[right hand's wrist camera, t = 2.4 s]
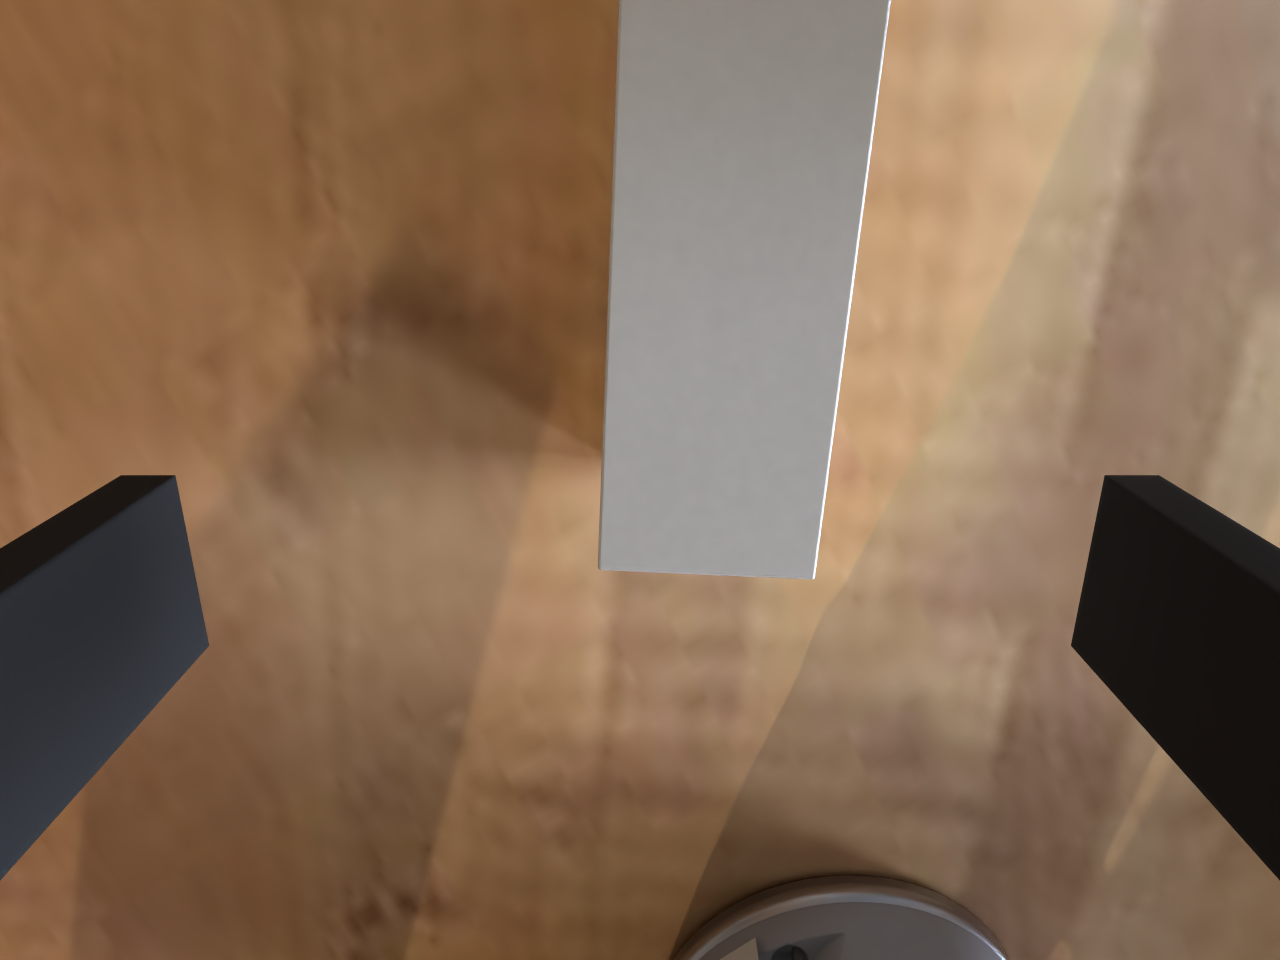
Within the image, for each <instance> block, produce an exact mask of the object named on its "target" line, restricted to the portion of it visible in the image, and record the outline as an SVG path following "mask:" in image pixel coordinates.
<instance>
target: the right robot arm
mask: <svg viewBox="0 0 1280 960" xmlns="http://www.w3.org/2000/svg"><path fill="white" fill-rule="evenodd" d="M208 646H209V643H208V638H207V633H206V628H205V623H204V618H203V613H202V608H201V603H200V598H199V593H198V588H197V583H196V578H195V573H194V567H193V562H192V557H191V552H190V547H189V542H188V537H187V532H186V527H185V522H184V517H183V512H182V507H181V502H180V497H179V492H178V487H177V482H176V477H175V475H121V476H119V477H118V478H116V479H114V480H113V481H111V482H109V483H108V484H106V485H104V486H103V487H101V488H99V489H98V490H96V491H94V492H93V493H91V494H90V495H88V496H86V497H85V498H83V499H81V500H80V501H78V502H76V503H75V504H73V505H71V506H70V507H68V508H66V509H65V510H63V511H61V512H60V513H58V514H57V515H55V516H53V517H52V518H50V519H48V520H47V521H45V522H43V523H42V524H40V525H38V526H37V527H35V528H33V529H32V530H30V531H28V532H27V533H25V534H24V535H22V536H20V537H19V538H17V539H15V540H14V541H12V542H10V543H9V544H7V545H5V546H4V547H2V548H0V880H1V879H2V878H3V877H4V876H5V874H6V873H7V872H8V871H9V870H10V869H11V868H12V867H13V865H14V864H15V863H16V862H17V861H18V860H19V859H20V858H21V856H22V855H23V854H24V853H25V852H26V851H27V850H28V849H29V847H30V846H31V845H32V844H33V843H34V842H35V841H36V840H37V838H38V837H39V836H40V835H41V834H42V833H43V832H44V831H45V829H46V828H47V827H48V826H49V825H50V824H51V823H52V822H53V820H54V819H55V818H56V817H57V816H58V815H59V814H60V813H61V811H62V810H63V809H64V808H65V807H66V806H67V805H68V804H69V802H70V801H71V800H72V799H73V798H74V797H75V796H76V795H77V793H78V792H79V791H80V790H81V789H82V788H83V787H84V786H85V784H86V783H87V782H88V781H89V780H90V779H91V778H92V777H93V775H94V774H95V773H96V772H97V771H98V770H99V769H100V768H101V766H102V765H103V764H104V763H105V762H106V761H107V760H108V759H109V757H110V756H111V755H112V754H113V753H114V752H115V751H116V750H117V748H118V747H119V746H120V745H121V744H122V743H123V742H124V741H125V739H126V738H127V737H128V736H129V735H130V734H131V733H132V732H133V730H134V729H135V728H136V727H137V726H138V725H139V724H140V723H141V722H142V720H143V719H144V718H145V717H146V716H147V715H148V714H149V713H150V711H151V710H152V709H153V708H154V707H155V706H156V705H157V704H158V702H159V701H160V700H161V699H162V698H163V697H164V696H165V695H166V693H167V692H168V691H169V690H170V689H171V688H172V687H173V686H174V684H175V683H176V682H177V681H178V680H179V679H180V678H181V677H182V675H183V674H184V673H185V672H186V671H187V670H188V669H189V668H190V666H191V665H192V664H193V663H194V662H195V661H196V660H197V659H198V657H199V656H200V655H201V654H202V653H203V652H204V651H205V650H206V648H207V647H208ZM1071 646H1072V647H1073V648H1074V650H1075V651H1076V652H1077V653H1078V654H1079V655H1080V656H1081V657H1082V659H1083V660H1084V661H1085V662H1086V663H1087V664H1088V665H1089V666H1090V668H1091V669H1092V670H1093V671H1094V672H1095V673H1096V674H1097V675H1098V677H1099V678H1100V679H1101V680H1102V681H1103V682H1104V683H1105V684H1106V686H1107V687H1108V688H1109V689H1110V690H1111V691H1112V692H1113V693H1114V695H1115V696H1116V697H1117V698H1118V699H1119V700H1120V701H1121V702H1122V704H1123V705H1124V706H1125V707H1126V708H1127V709H1128V710H1129V711H1130V713H1131V714H1132V715H1133V716H1134V717H1135V718H1136V719H1137V720H1138V722H1139V723H1140V724H1141V725H1142V726H1143V727H1144V728H1145V729H1146V730H1147V732H1148V733H1149V734H1150V735H1151V736H1152V737H1153V738H1154V739H1155V741H1156V742H1157V743H1158V744H1159V745H1160V746H1161V747H1162V748H1163V750H1164V751H1165V752H1166V753H1167V754H1168V755H1169V756H1170V757H1171V759H1172V760H1173V761H1174V762H1175V763H1176V764H1177V765H1178V766H1179V768H1180V769H1181V770H1182V771H1183V772H1184V773H1185V774H1186V775H1187V777H1188V778H1189V779H1190V780H1191V781H1192V782H1193V783H1194V784H1195V786H1196V787H1197V788H1198V789H1199V790H1200V791H1201V792H1202V793H1203V795H1204V796H1205V797H1206V798H1207V799H1208V800H1209V801H1210V802H1211V804H1212V805H1213V806H1214V807H1215V808H1216V809H1217V810H1218V811H1219V813H1220V814H1221V815H1222V816H1223V817H1224V818H1225V819H1226V820H1227V822H1228V823H1229V824H1230V825H1231V826H1232V827H1233V828H1234V829H1235V831H1236V832H1237V833H1238V834H1239V835H1240V836H1241V837H1242V838H1243V840H1244V841H1245V842H1246V843H1247V844H1248V845H1249V846H1250V847H1251V849H1252V850H1253V851H1254V852H1255V853H1256V854H1257V855H1258V856H1259V858H1260V859H1261V860H1262V861H1263V862H1264V863H1265V864H1266V865H1267V867H1268V868H1269V869H1270V870H1271V871H1272V872H1273V873H1274V874H1275V876H1276V877H1277V878H1278V879H1279V880H1280V548H1278V547H1276V546H1275V545H1273V544H1271V543H1270V542H1268V541H1266V540H1265V539H1263V538H1261V537H1260V536H1258V535H1256V534H1255V533H1253V532H1252V531H1250V530H1248V529H1247V528H1245V527H1243V526H1242V525H1240V524H1238V523H1237V522H1235V521H1233V520H1232V519H1230V518H1228V517H1227V516H1225V515H1223V514H1222V513H1220V512H1219V511H1217V510H1215V509H1214V508H1212V507H1210V506H1209V505H1207V504H1205V503H1204V502H1202V501H1200V500H1199V499H1197V498H1195V497H1194V496H1192V495H1190V494H1189V493H1187V492H1186V491H1184V490H1182V489H1181V488H1179V487H1177V486H1176V485H1174V484H1172V483H1171V482H1169V481H1167V480H1166V479H1164V478H1162V477H1161V476H1159V475H1105V477H1104V482H1103V487H1102V492H1101V497H1100V502H1099V507H1098V512H1097V517H1096V522H1095V527H1094V532H1093V537H1092V542H1091V547H1090V552H1089V557H1088V562H1087V567H1086V573H1085V578H1084V583H1083V588H1082V593H1081V598H1080V603H1079V608H1078V613H1077V618H1076V623H1075V628H1074V633H1073V638H1072V643H1071ZM673 960H1008V958H1007V955H1006V953H1005V951H1004V949H1003V948H1002V946H1001V944H1000V943H999V941H998V940H997V938H996V937H995V936H994V935H993V933H992V932H991V931H990V930H989V929H988V927H987V926H986V925H985V924H984V923H982V922H981V921H980V920H979V919H978V918H977V917H976V916H975V915H974V914H972V913H971V912H970V911H968V910H967V909H965V908H964V907H963V906H961V905H959V904H958V903H956V902H954V901H953V900H951V899H949V898H947V897H945V896H943V895H941V894H939V893H937V892H934V891H932V890H929V889H926V888H924V887H921V886H918V885H915V884H911V883H907V882H903V881H899V880H894V879H888V878H882V877H872V876H853V875H842V876H826V877H818V878H811V879H805V880H800V881H796V882H791V883H787V884H783V885H780V886H777V887H773V888H770V889H767V890H765V891H762V892H760V893H757V894H755V895H752V896H750V897H748V898H746V899H744V900H742V901H740V902H738V903H736V904H734V905H732V906H731V907H729V908H727V909H726V910H724V911H722V912H721V913H719V914H718V915H717V916H715V917H714V918H712V919H711V920H710V921H708V922H707V923H706V924H705V925H704V926H702V927H701V928H700V929H699V930H698V931H697V932H696V933H695V934H694V935H693V936H692V937H691V938H690V939H689V940H688V941H687V942H686V943H685V944H684V946H683V947H682V948H681V949H680V951H679V952H678V953H677V955H676V956H675V958H674V959H673Z"/></svg>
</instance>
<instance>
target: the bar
mask: <svg viewBox="0 0 1280 960" xmlns="http://www.w3.org/2000/svg"><path fill="white" fill-rule="evenodd" d="M890 3H891V0H619V13H618V40H617V67H616V93H615V120H614V147H613V174H612V201H611V227H610V254H609V281H608V308H607V335H606V362H605V388H604V415H603V442H602V469H601V496H600V523H599V549H598V568H599V569H600V570H616V571H638V572H660V573H683V574H705V575H727V576H749V577H771V578H794V579H814V577H815V571H816V563H817V556H818V548H819V541H820V533H821V526H822V518H823V510H824V503H825V495H826V488H827V480H828V473H829V465H830V457H831V450H832V442H833V435H834V427H835V419H836V412H837V404H838V397H839V389H840V382H841V374H842V366H843V359H844V351H845V344H846V336H847V329H848V321H849V313H850V306H851V298H852V291H853V283H854V275H855V268H856V260H857V253H858V245H859V238H860V230H861V222H862V215H863V207H864V200H865V192H866V185H867V177H868V169H869V162H870V154H871V147H872V139H873V132H874V124H875V116H876V109H877V101H878V94H879V86H880V78H881V71H882V63H883V56H884V48H885V41H886V33H887V25H888V18H889V10H890Z"/></svg>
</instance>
